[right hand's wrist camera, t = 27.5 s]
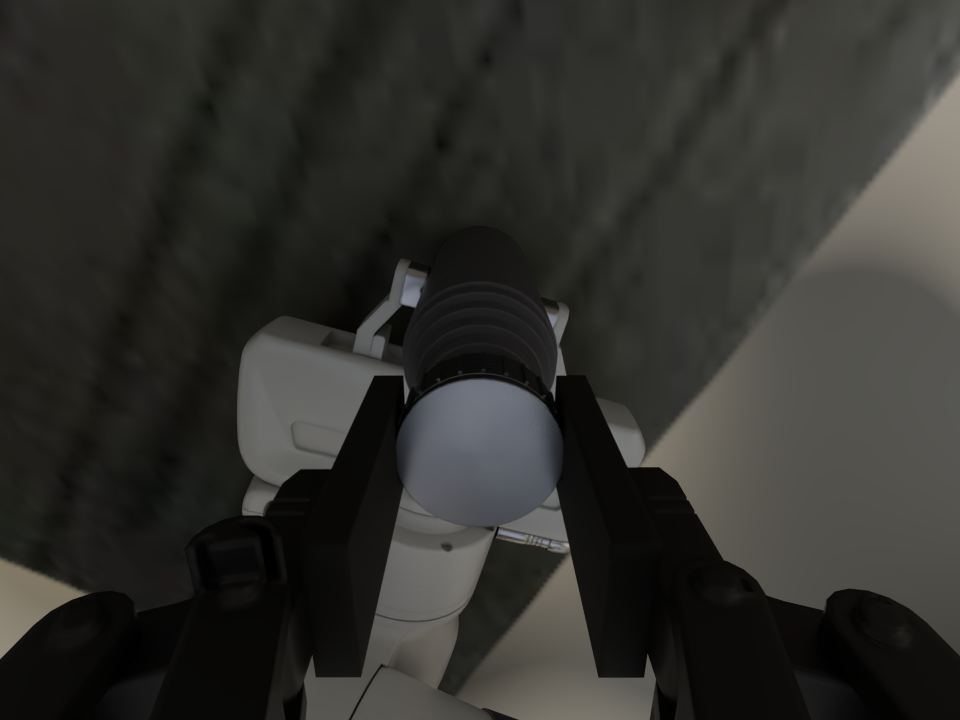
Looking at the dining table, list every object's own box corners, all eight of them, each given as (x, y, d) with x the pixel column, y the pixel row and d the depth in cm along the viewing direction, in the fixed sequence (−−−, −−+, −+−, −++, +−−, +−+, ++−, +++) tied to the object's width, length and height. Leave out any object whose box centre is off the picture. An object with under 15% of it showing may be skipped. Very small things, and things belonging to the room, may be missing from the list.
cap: (489, 515, 16) (490, 556, 14) (370, 433, 15) (357, 467, 13) (590, 414, 15) (604, 447, 13) (468, 318, 14) (467, 340, 12)
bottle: (450, 330, 33) (413, 552, 15) (420, 242, 31) (336, 375, 13) (537, 304, 33) (610, 502, 14) (512, 213, 31) (558, 310, 12)
